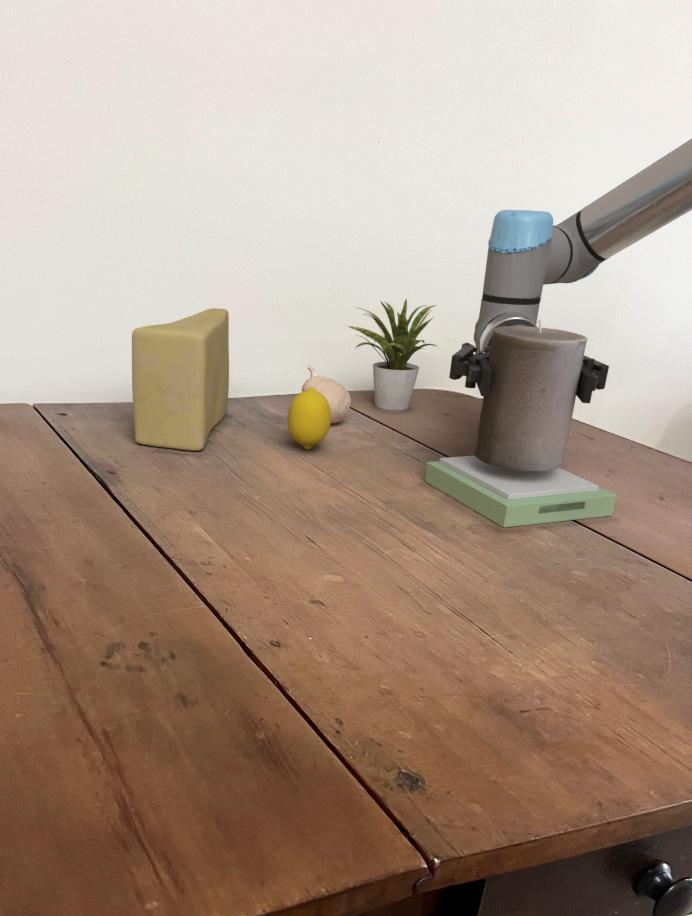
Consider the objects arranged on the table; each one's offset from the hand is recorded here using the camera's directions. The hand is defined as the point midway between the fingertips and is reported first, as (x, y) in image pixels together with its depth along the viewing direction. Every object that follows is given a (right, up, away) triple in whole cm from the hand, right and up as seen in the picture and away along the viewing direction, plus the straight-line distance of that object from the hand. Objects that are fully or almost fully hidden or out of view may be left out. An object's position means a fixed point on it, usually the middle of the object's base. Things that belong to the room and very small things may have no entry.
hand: (537, 386), depth 94 cm
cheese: (-37, +1, +32) cm, 49 cm away
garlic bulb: (-19, +3, +37) cm, 42 cm away
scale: (0, -10, +9) cm, 14 cm away
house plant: (-7, +9, +49) cm, 51 cm away
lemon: (-22, -3, +25) cm, 33 cm away
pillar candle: (0, -6, +8) cm, 10 cm away
